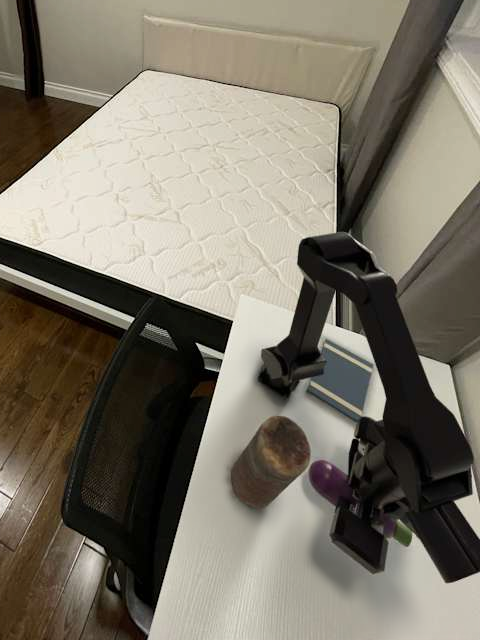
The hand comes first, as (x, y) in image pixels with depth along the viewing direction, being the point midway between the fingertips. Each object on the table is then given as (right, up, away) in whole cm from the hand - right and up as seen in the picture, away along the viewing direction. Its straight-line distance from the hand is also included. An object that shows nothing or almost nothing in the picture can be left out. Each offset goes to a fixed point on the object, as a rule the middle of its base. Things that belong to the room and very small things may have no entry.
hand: (347, 499), depth 59 cm
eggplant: (0, -1, +1) cm, 1 cm away
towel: (+9, +10, +18) cm, 23 cm away
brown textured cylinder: (-14, -1, +4) cm, 15 cm away
